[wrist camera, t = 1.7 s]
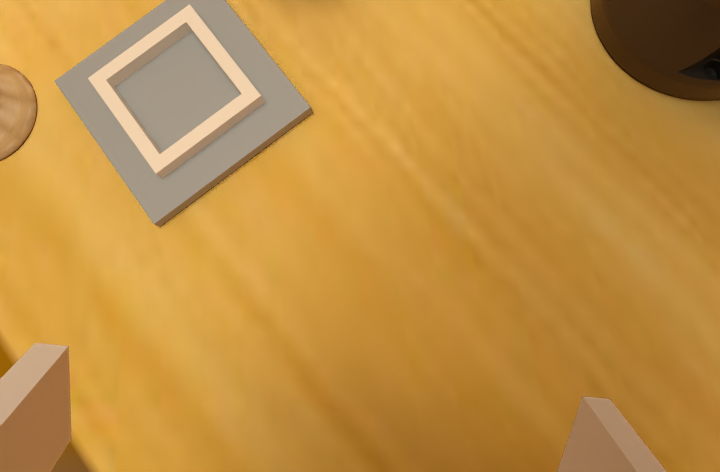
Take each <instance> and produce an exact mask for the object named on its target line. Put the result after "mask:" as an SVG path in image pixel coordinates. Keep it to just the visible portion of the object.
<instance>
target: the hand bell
mask: <svg viewBox="0 0 720 472" xmlns="http://www.w3.org/2000/svg"><path fill="white" fill-rule="evenodd" d="M36 113H37V102H36V96H35V92H34V90H33V87H32V85H31V84H30V82H29V81H28V80H27V79H26V77H25V76H24V75H22V74H21V73H20V72H19V71H17V70H15V69H14V68H12V67H9V66H6V65H2V64H0V160H1V159H3V158H6V157H7V156H9V155H10V154H12V153H13V152H14V151H16V150H17V149H18V148H19V147H20V146H21V145H22V144H23V142H24V141H25V140H26V138H27V137H28V135H29V134H30V132H31V130H32V128H33V125H34V123H35V119H36Z"/></svg>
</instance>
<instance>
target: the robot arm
mask: <svg viewBox="0 0 720 472" xmlns="http://www.w3.org/2000/svg"><path fill="white" fill-rule="evenodd" d="M591 10H592V16H593V20H594V24H595V27H596V30H597V33H598V35H599V37H600V39H601V41H602V43H603V45H604V46H605V48H606V49H607V51H608V52H609V54H610V55H611V56H612V58H613V59H614V60H615V61H616V62H617V63H618V64H619V65H620V66H621V67H622V68H623V69H624V70H625V71H626V72H628V73H629V74H630V75H631V76H633V77H634V78H636V79H637V80H639V81H640V82H642V83H644V84H645V85H647V86H649V87H651V88H653V89H656V90H658V91H661V92H663V93H666V94H669V95H673V96H677V97H681V98H687V99H696V100H715V99H720V0H591ZM71 439H72V438H71V406H70V373H69V346H63V345H52V344H42V343H35V344H34V345H33V346H32V347H31V348H30V349H29V350H28V351H27V352H26V353H25V354H24V355H23V356H22V357H21V358H20V359H19V360H18V361H17V362H16V363H15V364H14V366H13V367H12V368H11V369H10V370H9V371H8V372H7V373H6V374H5V375H4V376H3V377H2V378H1V379H0V472H50V471H51V470H52V468H53V467H54V465H55V463H56V462H57V460H58V459H59V457H60V456H61V454H62V453H63V451H64V450H65V448H66V446H67V445H68V443H69V442H70V440H71ZM557 472H667V471H666V470H665V469H664V467H663V466H662V465H661V463H660V462H659V461H658V460H657V458H656V457H655V456H654V455H653V453H652V452H651V451H650V449H649V448H648V447H647V446H646V444H645V443H644V442H643V441H642V439H641V438H640V437H639V435H638V434H637V433H636V432H635V430H634V429H633V428H632V426H631V425H630V424H629V423H628V421H627V420H626V419H625V418H624V416H623V415H622V414H621V412H620V411H619V410H618V409H617V407H616V406H615V405H614V404H613V402H612V401H611V400H610V399H607V398H597V397H587V396H582V399H581V402H580V405H579V408H578V411H577V414H576V417H575V420H574V423H573V426H572V429H571V432H570V435H569V438H568V441H567V444H566V447H565V450H564V453H563V456H562V459H561V462H560V465H559V468H558V471H557Z"/></svg>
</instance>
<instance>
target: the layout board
mask: <svg viewBox="0 0 720 472" xmlns="http://www.w3.org/2000/svg"><path fill="white" fill-rule="evenodd" d="M55 83H56V84H57V86H58V87H59V89H60V90H61V91H62V93H63V94H64V96H65V97H66V99H67V100H68V101H69V103H70V104H71V106H72V107H73V109H74V110H75V111H76V113H77V114H78V116H79V117H80V119H81V120H82V122H83V123H84V124H85V126H86V127H87V129H88V130H89V132H90V133H91V134H92V136H93V137H94V139H95V140H96V142H97V143H98V144H99V146H100V147H101V149H102V150H103V152H104V153H105V155H106V156H107V157H108V159H109V160H110V162H111V163H112V165H113V166H114V167H115V169H116V170H117V172H118V173H119V175H120V176H121V177H122V179H123V180H124V182H125V183H126V185H127V186H128V188H129V189H130V190H131V192H132V193H133V195H134V196H135V198H136V199H137V200H138V202H139V203H140V205H141V206H142V208H143V209H144V210H145V212H146V213H147V215H148V216H149V218H150V219H151V221H152V222H153V223H154V224H155V225H157V226H162V225H163V224H164V223H166V222H167V221H168V220H170V219H171V218H172V217H174V216H175V215H176V214H178V213H179V212H180V211H182V210H183V209H184V208H186V207H187V206H188V205H190V204H191V203H192V202H194V201H195V200H196V199H198V198H199V197H200V196H202V195H203V194H204V193H206V192H207V191H208V190H210V189H211V188H212V187H214V186H215V185H216V184H218V183H219V182H220V181H222V180H223V179H224V178H226V177H227V176H228V175H230V174H231V173H232V172H234V171H235V170H237V169H238V168H239V167H241V166H242V165H243V164H245V163H246V162H247V161H249V160H250V159H251V158H253V157H254V156H255V155H257V154H258V153H259V152H261V151H262V150H263V149H265V148H266V147H267V146H269V145H270V144H271V143H273V142H274V141H275V140H277V139H278V138H279V137H281V136H282V135H283V134H285V133H286V132H287V131H289V130H290V129H291V128H293V127H294V126H295V125H297V124H298V123H299V122H301V121H302V120H303V119H305V118H306V117H307V116H309V115H310V114H311V113H313V112H312V109H311V107H310V106H309V104H308V103H307V102H306V101H305V99H304V98H303V97H302V96H301V94H300V93H299V92H298V91H297V89H296V88H295V87H294V86H293V84H292V83H291V82H290V81H289V79H288V78H287V77H286V76H285V74H284V73H283V72H282V71H281V69H280V68H279V67H278V66H277V64H276V63H275V62H274V61H273V59H272V58H271V57H270V56H269V54H268V53H267V52H266V51H265V49H264V48H263V47H262V46H261V44H260V43H259V42H258V41H257V39H256V38H255V37H254V36H253V34H252V33H251V32H250V31H249V29H248V28H247V27H246V26H245V24H244V23H243V22H242V21H241V19H240V18H239V17H238V16H237V14H236V13H235V12H234V11H233V9H232V8H231V7H230V6H229V4H228V3H227V2H226V1H225V0H166V1H164V2H163V3H161V4H160V5H159V6H157V7H156V8H155V9H153V10H152V11H150V12H149V13H148V14H146V15H145V16H144V17H142V18H141V19H139V20H138V21H137V22H135V23H134V24H132V25H131V26H130V27H128V28H127V29H126V30H124V31H123V32H121V33H120V34H119V35H117V36H116V37H114V38H113V39H112V40H110V41H109V42H108V43H106V44H105V45H103V46H102V47H101V48H99V49H98V50H97V51H95V52H94V53H92V54H91V55H90V56H88V57H87V58H85V59H84V60H83V61H81V62H80V63H79V64H77V65H76V66H74V67H73V68H72V69H70V70H69V71H68V72H66V73H65V74H63V75H62V76H61V77H59V78H58V79H56V80H55Z"/></svg>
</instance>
